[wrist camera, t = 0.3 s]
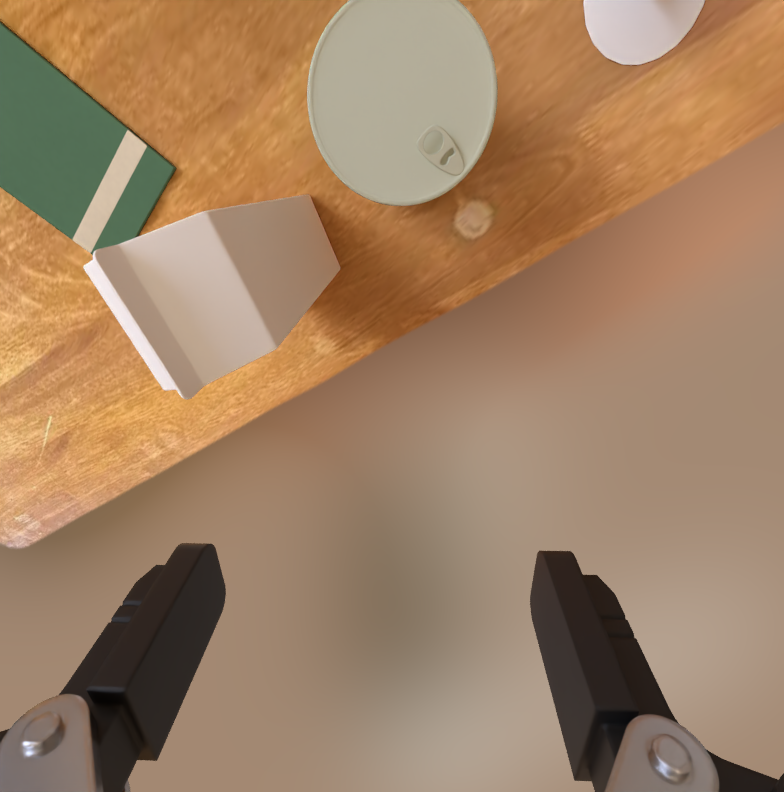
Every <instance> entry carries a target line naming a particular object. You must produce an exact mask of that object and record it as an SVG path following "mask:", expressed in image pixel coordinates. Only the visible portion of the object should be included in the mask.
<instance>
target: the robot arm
mask: <svg viewBox="0 0 784 792" xmlns="http://www.w3.org/2000/svg"><path fill="white" fill-rule="evenodd" d="M225 590H226V589H225V583H224V579H223V576H222V572H221V568H220V564H219V560H218V556H217V552H216V549H215V547H214V545H213V544H195V543H193V544H192V543H182V544H180V545H178V547H177V548H176V549H175V550H174V552H173V553H172V555H171V557H170V558H169V560H168V561H167V563H166V564H165V565H156V566H155V567H153V568H152V569H151V570H150V571H149V572H148V573H146V574H145V575H144V576H143V577H142V578H140V579H139V580H138V581H137V582H136V583H135V585H134V586H133V588H132V589H131V591H130V592H129V594H128V595H127V597H126V598H125V600H124V601H123V605H122V606H120V607H119V608H118V610H117V611H116V613H115V614H114V616H113V617H112V621H111V623H108V625H107V626H106V627H105V629H104V630H103V632H102V633H101V635H100V636H99V638H98V639H97V641H96V642H95V644H94V645H93V647H92V648H91V650H90V651H89V653H88V654H87V655H86V657H85V659H84V660H83V661H82V663H81V664H80V666H79V667H78V669H77V670H76V672H75V673H74V675H73V676H72V677H71V679H70V680H69V682H68V684H67V685H66V686H65V688H64V689H63V690H62V692H61V693H60V694H59V695H58V696H55V697H52V698H49V699H47V700H45V701H43V702H41V703H39V704H37V705H36V706H34V707H33V708H32V709H30V710H29V711H27V712H26V713H25V714H24V715H23V716H21V717H20V719H18V720H17V721H16V722H15V723H14V725H13V726H12V727H11V728H10V729H8V730H5V731H1V732H0V792H130V786H129V782H128V778H129V776H130V774H131V772H132V770H133V767H134V765H135V763H136V761H137V760H153V761H155V760H156V761H157V759H158V757H159V755H160V752H161V750H162V748H163V746H164V743H165V741H166V739H167V737H168V734H169V732H170V729H171V727H172V725H173V723H174V720H175V718H176V716H177V714H178V711H179V709H180V706H181V705H182V702H183V700H184V698H185V695H186V693H187V691H188V688H189V686H190V684H191V682H192V680H193V677H194V675H195V673H196V670H197V668H198V666H199V664H200V661H201V659H202V657H203V654H204V652H205V650H206V647H207V645H208V643H209V641H210V638H211V636H212V634H213V632H214V629H215V627H216V625H217V622H218V620H219V618H220V616H221V613H222V610H223V607H224V603H225V595H226V591H225ZM530 605H531V615H532V621H533V624H534V628H535V632H536V636H537V640H538V644H539V647H540V651H541V655H542V659H543V663H544V666H545V670H546V674H547V678H548V682H549V685H550V689H551V693H552V697H553V700H554V704H555V708H556V712H557V716H558V719H559V723H560V727H561V731H562V735H563V738H564V742H565V746H566V749H567V753H568V757H569V761H570V765H571V769H572V772H573V776H574V780H575V781H592V783H593V787H594V790H595V792H784V774H783V775H782V776H781V777H780V779H779V780H777V779H775V778H772V777H769V776H766V775H764V774H761V773H758V772H756V771H753V770H750V769H747V768H745V767H742V766H739V765H737V764H734V763H731V762H729V761H726V760H724V759H721V758H720V757H718V756H716V755H714V754H712V753H711V752H709V751H708V750H706V749H705V748H704V746H703V745H702V744H701V743H700V741H698V739H697V738H696V737H695V736H694V735H693V734H691V733H690V732H689V731H688V730H686V728H684V727H682V726H681V725H680V724H679V723H678V722H677V720H676V719H675V718H674V716H673V714H672V712H671V711H670V709H669V707H668V705H667V703H666V700H665V698H664V696H663V694H662V692H661V690H660V688H659V686H658V684H657V682H656V679H655V678H654V675H653V673H652V671H651V669H650V667H649V665H648V663H647V661H646V659H645V656H644V654H643V652H642V650H641V648H640V646H639V644H638V642H637V639H635V638H634V633H633V631H632V629H631V627H630V625H629V623H628V621H627V620H626V619H625V615H624V612H623V610H622V608H621V606H620V604H619V602H618V600H617V597H616V595H615V594H614V593H613V592H612V590H611V589H610V588H609V587H608V586H607V585H606V584H605V583H604V582H603V581H602V580H601V579H600V578H599V577H598V576H597V575H582V572H581V570H580V567H579V565H578V563H577V560H576V558H575V556H574V554H573V553H572V552H570V551H539V552H538V554H537V559H536V564H535V570H534V576H533V583H532V589H531V596H530Z"/></svg>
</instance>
